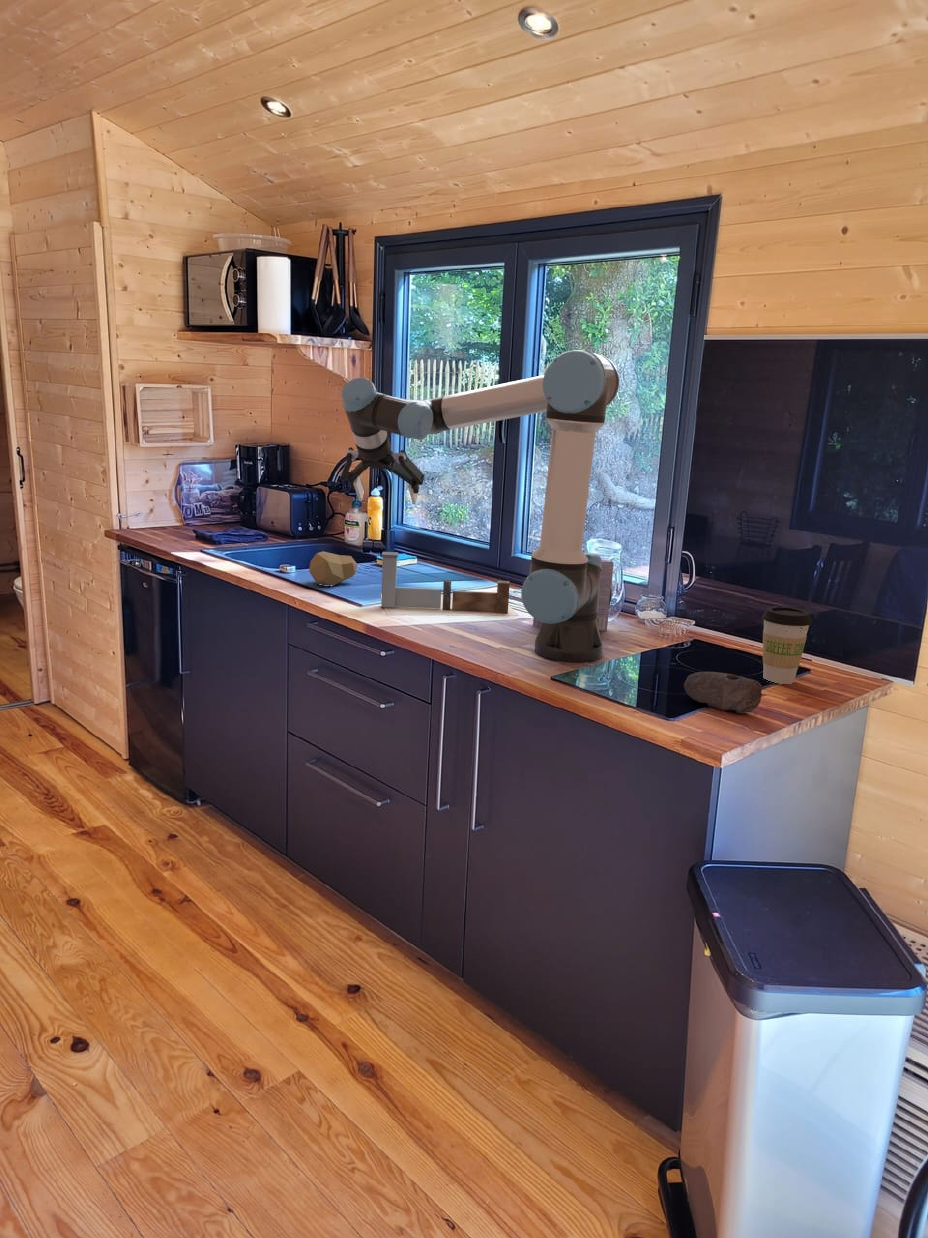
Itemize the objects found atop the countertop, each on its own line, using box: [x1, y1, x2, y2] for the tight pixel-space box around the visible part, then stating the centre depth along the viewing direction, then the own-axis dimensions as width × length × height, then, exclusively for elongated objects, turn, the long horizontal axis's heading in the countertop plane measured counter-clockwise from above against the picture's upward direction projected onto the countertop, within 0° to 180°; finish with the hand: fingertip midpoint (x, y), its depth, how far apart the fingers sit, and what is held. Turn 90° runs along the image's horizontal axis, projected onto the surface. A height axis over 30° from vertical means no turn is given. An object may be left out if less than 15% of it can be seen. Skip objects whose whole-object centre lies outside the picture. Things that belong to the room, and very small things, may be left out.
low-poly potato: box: [308, 551, 358, 586], centre depth 264 cm, size 15×11×12 cm
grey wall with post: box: [380, 551, 442, 609], centre depth 238 cm, size 16×4×14 cm, turn 90°
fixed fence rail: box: [442, 580, 511, 614], centre depth 239 cm, size 17×3×8 cm, turn 90°
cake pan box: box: [532, 559, 615, 632], centre depth 227 cm, size 19×5×18 cm, turn 99°
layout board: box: [380, 593, 520, 617], centre depth 246 cm, size 24×34×1 cm
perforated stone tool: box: [683, 671, 763, 714], centre depth 175 cm, size 15×5×7 cm, turn 47°
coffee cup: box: [761, 605, 813, 685], centre depth 193 cm, size 10×10×15 cm
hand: (388, 498), depth 225 cm, fingers open, 13 cm apart
